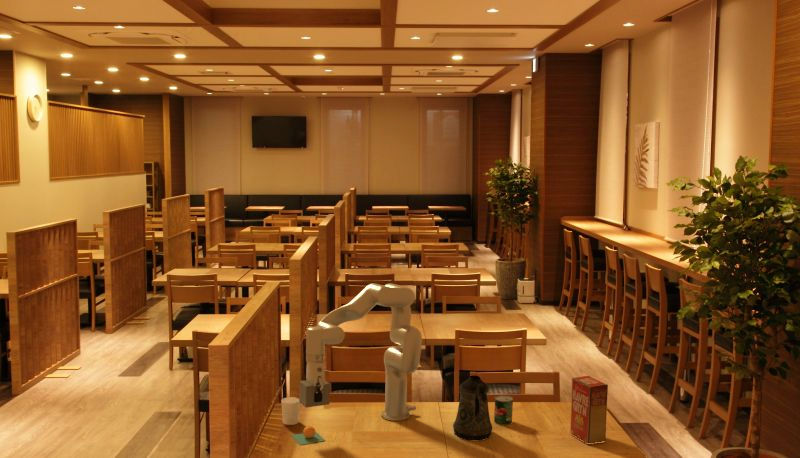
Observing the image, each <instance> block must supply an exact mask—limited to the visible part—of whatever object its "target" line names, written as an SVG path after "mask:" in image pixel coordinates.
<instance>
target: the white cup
mask: <svg viewBox="0 0 800 458" xmlns="http://www.w3.org/2000/svg"><path fill="white" fill-rule="evenodd" d="M280 401H281V415H282V423H283V424H284V425H286V426H292V425H297V424H298V423H299V418H300V417H299V416H300V407H301V406H300V405H301V403H300V402H299V398H298V397H295V396H290V397H289V396H288V397H284V398H282V399H281V400H280Z"/></svg>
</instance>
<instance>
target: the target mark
mask: <svg viewBox="0 0 800 458" xmlns="http://www.w3.org/2000/svg"><path fill="white" fill-rule="evenodd" d="M290 437H291V439H293V440H294V441H295V442H296V443H297V444H298V445H299V446H305V445H310V444H315V443H320V442H321V443H322V442H325V441H326V439H325V438H323V437H322V436H321V435H320V434H319V433H318V432H317V431H316V430H315V435H314V437H312V438H306V437H305V436H304V434H303V432H302V433H296V434H291V435H290Z"/></svg>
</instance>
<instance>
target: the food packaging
mask: <svg viewBox="0 0 800 458" xmlns="http://www.w3.org/2000/svg"><path fill="white" fill-rule="evenodd" d="M571 380H572V382H571V408H570V409H571V412H570V428H569V430H570V431H569V432H570V433H571V434H572V435H574V436H576V437H577V438H579V439H581V440H583V441H584V442H586V443H595V442H602V441H605V442H606V432H607V427H606V426H607V408H608V393H609V392H608V390H609V385H608V383H605V382H603V381H600V380H598V379H596V378H594V377H592V376H590V375H582V376H578V377H577V376H576V377H572V378H571ZM572 435H571V436H572ZM574 436H573V437H574ZM577 438H576V439H577Z"/></svg>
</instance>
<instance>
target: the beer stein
mask: <svg viewBox="0 0 800 458" xmlns="http://www.w3.org/2000/svg"><path fill="white" fill-rule="evenodd" d="M458 388H459V392H460V396H459V402H458V408H457V411H456V412H457V413H456V418H455V420H454V421H453V424H452V429H453V433H454V436H456V437H457V438H458V437H459V438H458V439H461V438H462V440H464V439H466V440H465V441H470V440H480V441H484V440H483V439H485V440H487V439H489V438H490V437H491V436H492V431H493V425H492V422H491V418H490V412H489V401H488V400H489V399H488V393H489V390H490V388H489V386H488V384H487V383H486V382H484V380H482V379H481V377H480V376H479V375H474V374H473V375H470V376H469V378H467V379H466V380H465V381H463V382H461V384H460V385H459V387H458ZM490 435H491V436H490ZM489 436H490V437H489ZM486 438H487V439H486Z"/></svg>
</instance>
